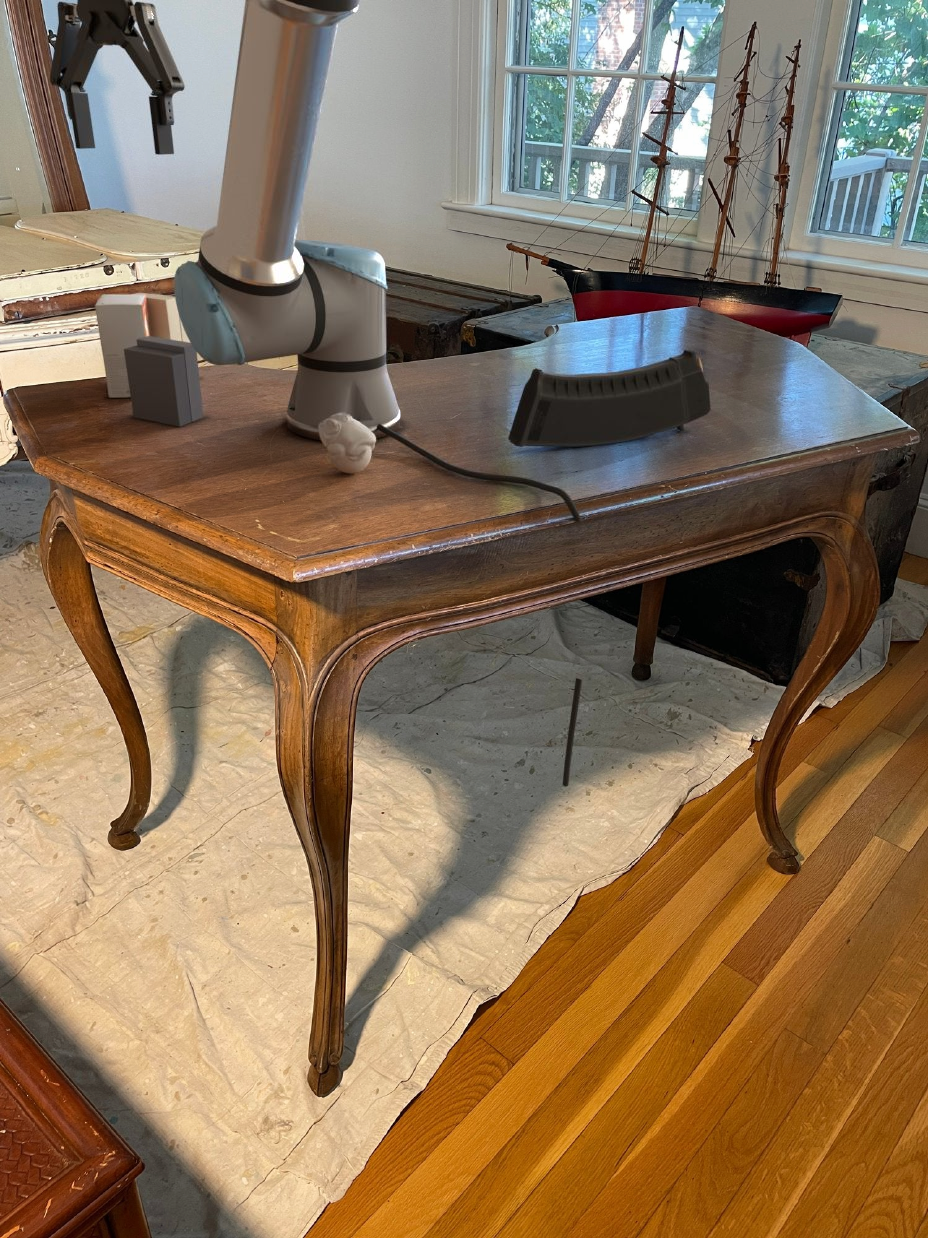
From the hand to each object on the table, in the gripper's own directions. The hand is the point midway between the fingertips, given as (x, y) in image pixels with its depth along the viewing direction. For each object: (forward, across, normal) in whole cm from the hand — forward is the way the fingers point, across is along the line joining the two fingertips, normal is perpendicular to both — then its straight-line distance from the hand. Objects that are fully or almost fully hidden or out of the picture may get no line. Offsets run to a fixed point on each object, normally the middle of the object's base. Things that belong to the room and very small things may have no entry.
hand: (124, 151), depth 122 cm
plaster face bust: (+32, -43, +15) cm, 56 cm away
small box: (+32, +2, +2) cm, 32 cm away
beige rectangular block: (+32, +2, -5) cm, 32 cm away
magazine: (+32, -67, -14) cm, 75 cm away
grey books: (+32, -11, +10) cm, 35 cm away
